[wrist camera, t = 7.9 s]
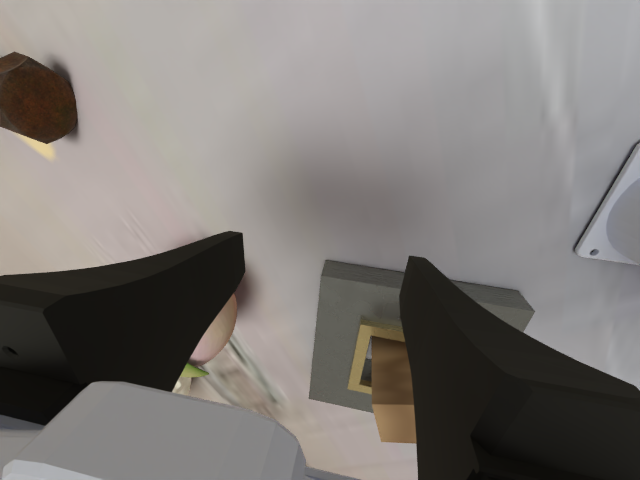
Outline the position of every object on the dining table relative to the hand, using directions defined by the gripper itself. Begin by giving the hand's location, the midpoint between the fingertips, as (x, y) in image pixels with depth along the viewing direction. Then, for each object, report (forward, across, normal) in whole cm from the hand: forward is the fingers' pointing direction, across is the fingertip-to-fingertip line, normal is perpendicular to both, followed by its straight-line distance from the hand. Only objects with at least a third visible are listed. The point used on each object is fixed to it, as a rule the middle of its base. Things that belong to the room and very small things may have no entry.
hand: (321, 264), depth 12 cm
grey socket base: (+10, -7, +14) cm, 19 cm away
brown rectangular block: (+10, -7, +14) cm, 19 cm away
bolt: (+11, +29, -6) cm, 32 cm away
